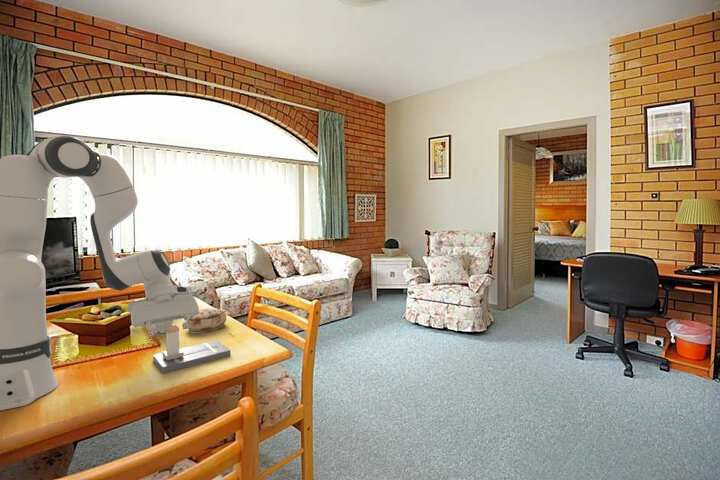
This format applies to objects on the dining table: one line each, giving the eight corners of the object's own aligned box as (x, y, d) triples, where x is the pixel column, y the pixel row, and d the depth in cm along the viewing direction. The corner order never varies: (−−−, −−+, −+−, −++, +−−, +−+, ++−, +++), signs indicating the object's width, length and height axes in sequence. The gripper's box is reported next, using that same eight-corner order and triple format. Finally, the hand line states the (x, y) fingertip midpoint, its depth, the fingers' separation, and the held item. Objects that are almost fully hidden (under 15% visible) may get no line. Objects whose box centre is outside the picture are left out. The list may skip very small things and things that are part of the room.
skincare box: (173, 330, 151) (172, 302, 150) (162, 333, 147) (161, 304, 146) (164, 327, 154) (163, 299, 153) (154, 330, 150) (153, 301, 149)
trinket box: (230, 323, 162) (230, 305, 161) (213, 335, 147) (213, 315, 146) (201, 321, 163) (200, 304, 162) (181, 333, 148) (180, 314, 147)
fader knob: (166, 360, 117) (165, 331, 116) (162, 355, 121) (161, 327, 120) (183, 356, 120) (182, 327, 119) (179, 351, 124) (178, 324, 123)
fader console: (163, 373, 113) (163, 366, 113) (153, 360, 122) (153, 354, 122) (230, 355, 127) (230, 349, 127) (217, 345, 136) (216, 339, 136)
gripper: (127, 295, 119) (135, 333, 112) (193, 286, 132) (204, 320, 126) (125, 306, 122) (133, 343, 116) (190, 296, 136) (200, 329, 130)
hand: (170, 331), depth 121 cm, fingers open, 8 cm apart
